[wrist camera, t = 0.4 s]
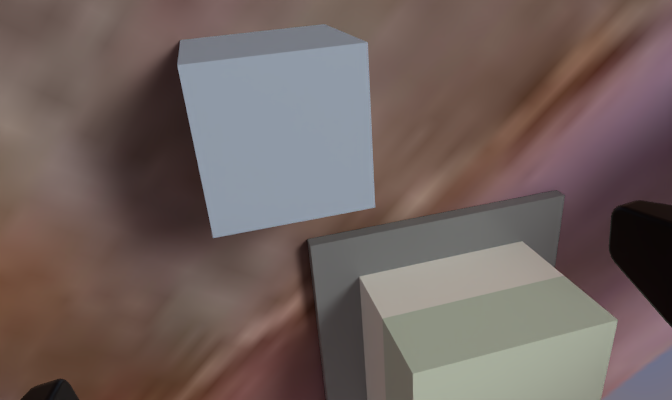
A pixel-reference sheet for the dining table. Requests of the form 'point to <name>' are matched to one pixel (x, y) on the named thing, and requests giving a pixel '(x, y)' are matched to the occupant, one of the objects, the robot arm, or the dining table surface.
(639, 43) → the dining table surface
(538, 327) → the pale block on slab
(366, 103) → the top block
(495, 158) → the dining table surface
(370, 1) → the dining table surface
